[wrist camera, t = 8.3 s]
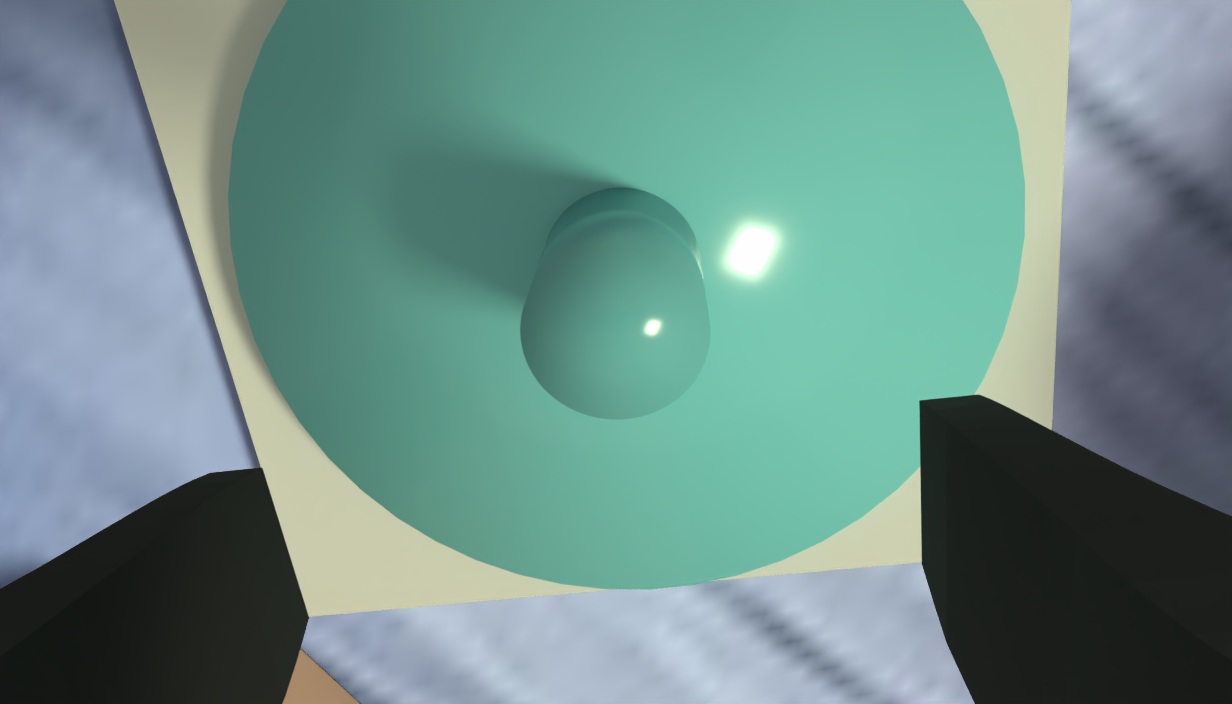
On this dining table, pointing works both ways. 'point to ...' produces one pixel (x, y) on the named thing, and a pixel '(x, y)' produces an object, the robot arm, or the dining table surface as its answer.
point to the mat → (359, 526)
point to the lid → (625, 264)
